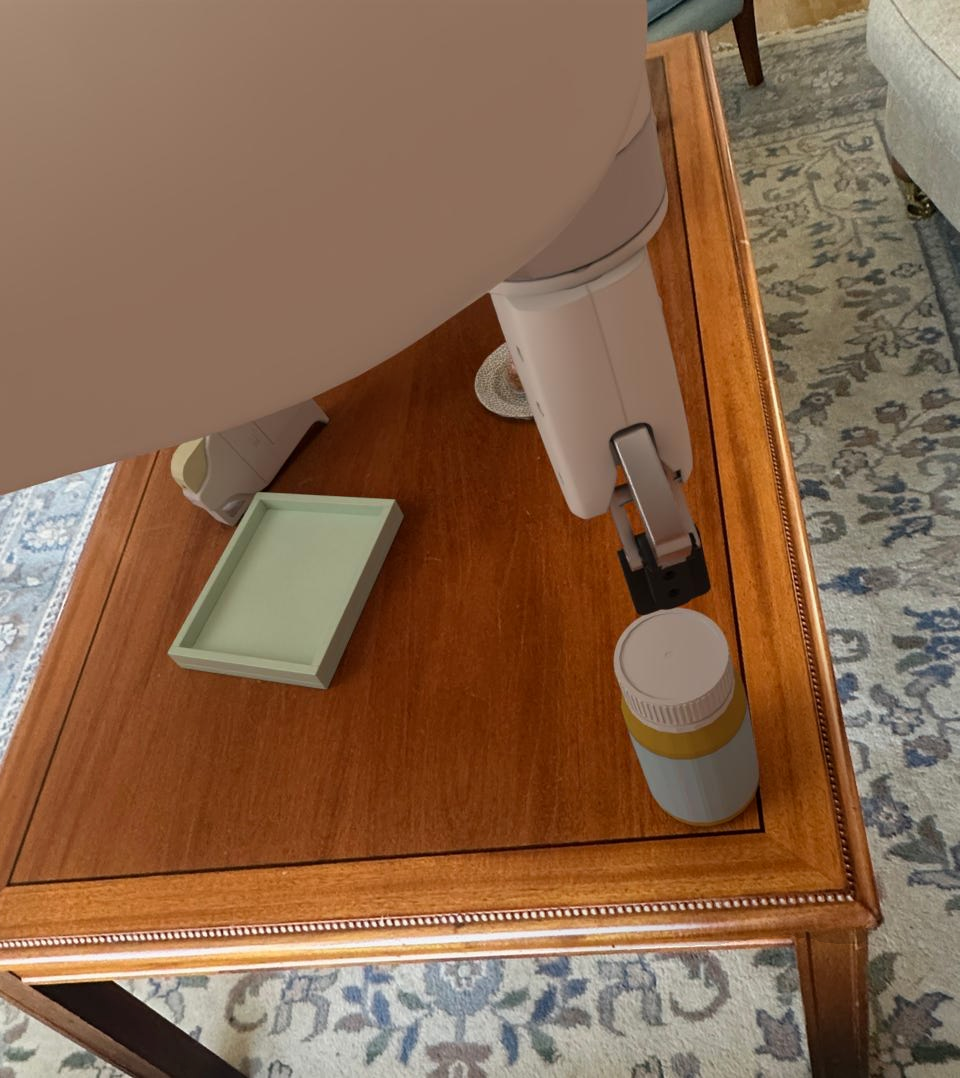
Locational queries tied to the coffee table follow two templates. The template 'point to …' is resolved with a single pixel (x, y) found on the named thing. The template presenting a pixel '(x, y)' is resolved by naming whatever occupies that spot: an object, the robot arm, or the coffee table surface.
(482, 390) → the pastry
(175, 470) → the light grey boxy piece
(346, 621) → the tray
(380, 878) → the coffee table surface
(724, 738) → the bottle
